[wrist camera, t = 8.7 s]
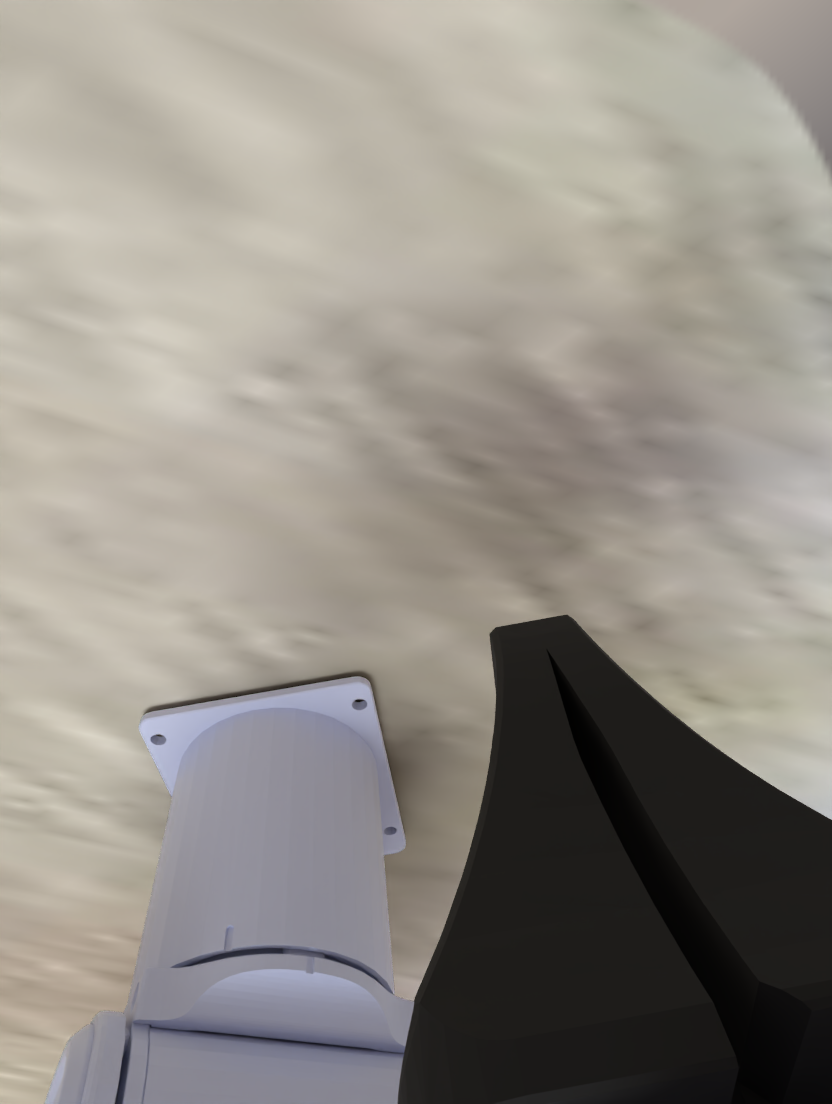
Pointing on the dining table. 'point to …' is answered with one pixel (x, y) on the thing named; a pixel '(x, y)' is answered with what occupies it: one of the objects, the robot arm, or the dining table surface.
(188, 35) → the dining table surface
